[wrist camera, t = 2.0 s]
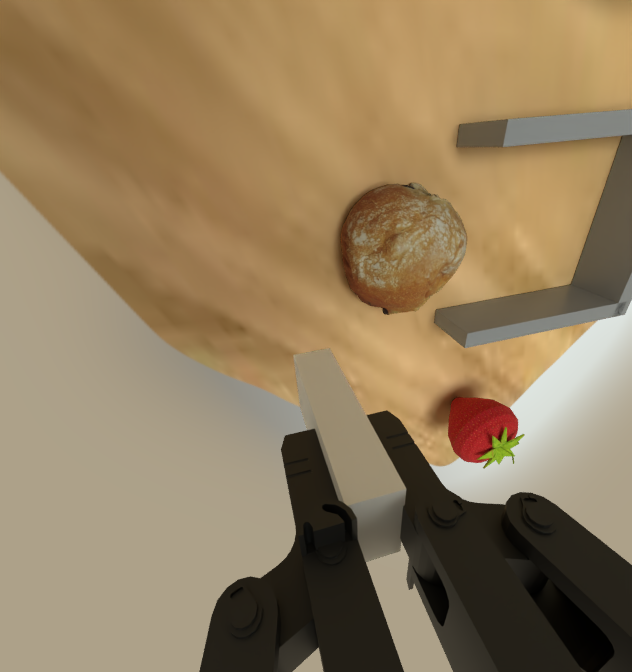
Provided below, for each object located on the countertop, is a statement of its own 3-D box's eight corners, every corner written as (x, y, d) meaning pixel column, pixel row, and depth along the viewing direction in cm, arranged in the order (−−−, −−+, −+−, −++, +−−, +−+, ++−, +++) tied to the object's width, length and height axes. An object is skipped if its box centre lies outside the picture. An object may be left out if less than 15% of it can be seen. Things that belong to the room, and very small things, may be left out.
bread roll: (429, 203, 31) (494, 166, 23) (430, 312, 32) (494, 311, 24) (328, 199, 29) (363, 156, 21) (332, 316, 29) (368, 317, 22)
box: (459, 124, 25) (508, 119, 20) (645, 109, 28) (722, 101, 23) (434, 323, 33) (464, 348, 29) (578, 295, 36) (624, 314, 32)
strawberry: (417, 411, 39) (470, 483, 31) (464, 367, 38) (534, 430, 29) (443, 429, 42) (498, 499, 34) (488, 388, 40) (558, 452, 32)
